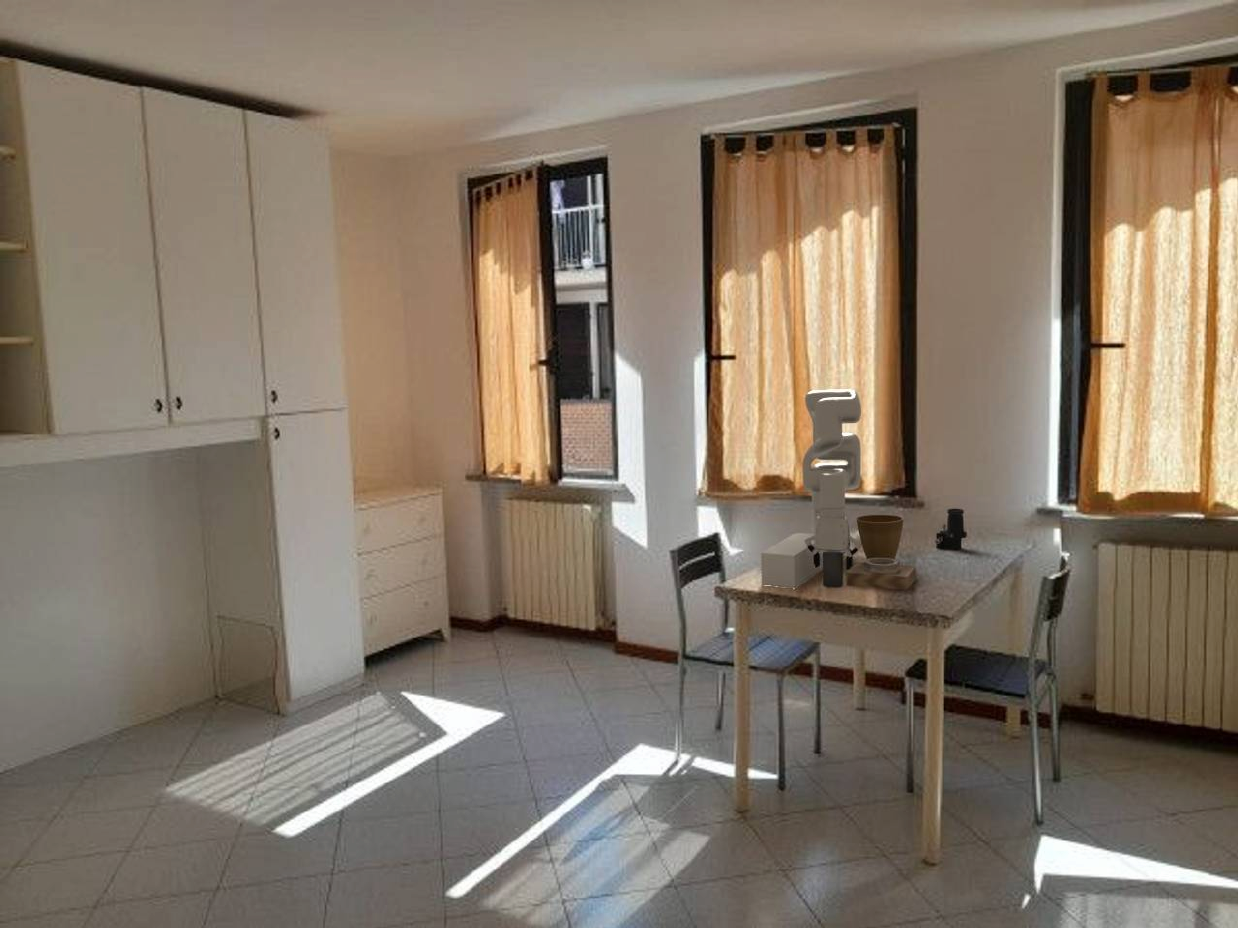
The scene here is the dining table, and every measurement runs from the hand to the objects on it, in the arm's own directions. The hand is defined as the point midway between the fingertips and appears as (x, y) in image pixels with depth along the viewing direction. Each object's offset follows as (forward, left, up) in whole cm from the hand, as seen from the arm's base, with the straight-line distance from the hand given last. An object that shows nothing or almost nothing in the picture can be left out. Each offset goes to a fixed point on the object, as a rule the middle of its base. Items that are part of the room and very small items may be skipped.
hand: (833, 567), depth 297 cm
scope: (+26, +62, -6) cm, 68 cm away
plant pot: (+8, +29, -6) cm, 31 cm away
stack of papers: (-14, +8, -6) cm, 17 cm away
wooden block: (+13, +8, -5) cm, 16 cm away
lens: (0, 0, -6) cm, 6 cm away
